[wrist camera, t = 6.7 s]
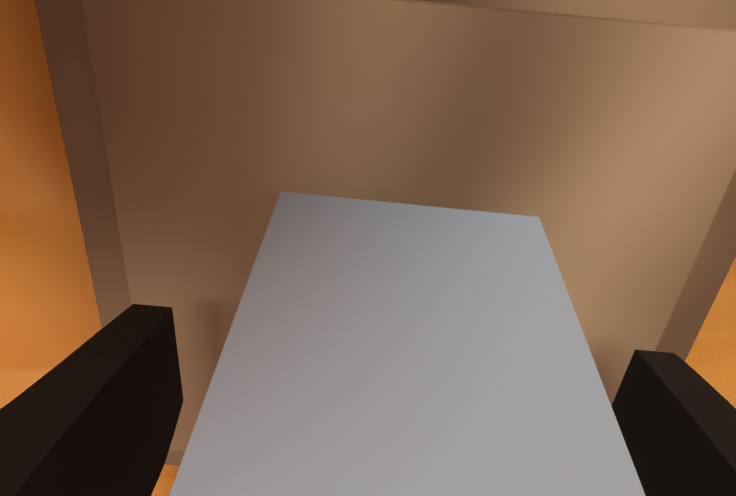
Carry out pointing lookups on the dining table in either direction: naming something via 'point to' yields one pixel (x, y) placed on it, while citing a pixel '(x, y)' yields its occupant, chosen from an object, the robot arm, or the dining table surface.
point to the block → (404, 364)
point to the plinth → (402, 145)
